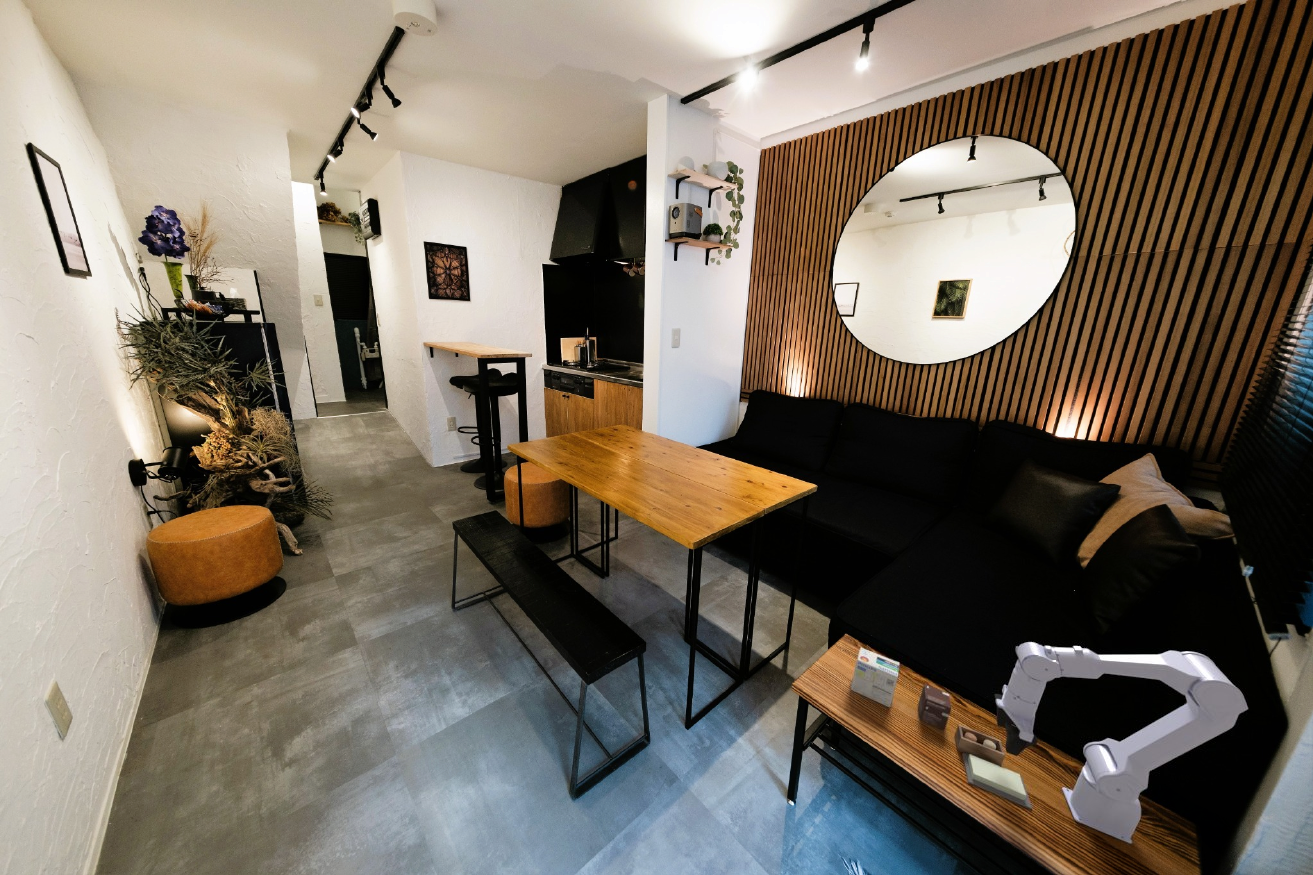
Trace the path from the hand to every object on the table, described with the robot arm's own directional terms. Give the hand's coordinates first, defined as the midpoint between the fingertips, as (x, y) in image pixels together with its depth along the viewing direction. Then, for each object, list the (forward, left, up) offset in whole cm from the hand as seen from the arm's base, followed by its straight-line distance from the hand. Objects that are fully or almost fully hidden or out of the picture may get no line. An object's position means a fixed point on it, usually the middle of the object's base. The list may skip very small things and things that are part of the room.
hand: (1006, 739), depth 103 cm
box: (+13, -10, -10) cm, 19 cm away
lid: (+1, +3, -10) cm, 10 cm away
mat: (+1, +3, -10) cm, 10 cm away
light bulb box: (+28, -11, -10) cm, 31 cm away
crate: (+3, -4, -10) cm, 11 cm away
